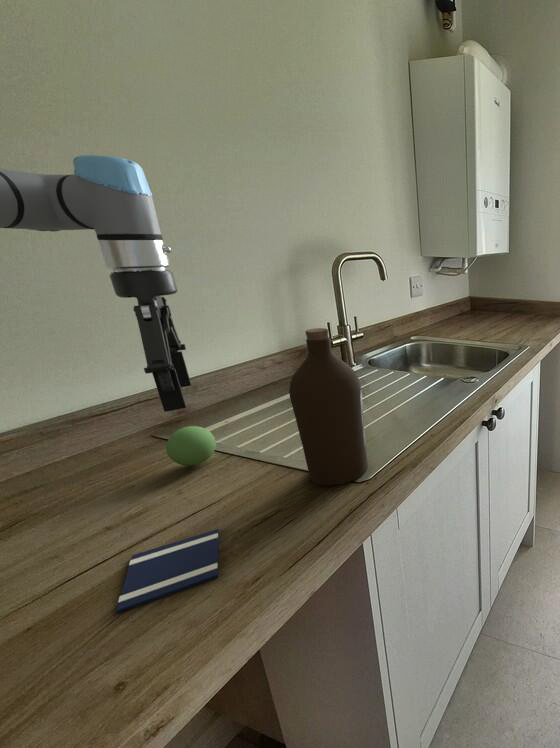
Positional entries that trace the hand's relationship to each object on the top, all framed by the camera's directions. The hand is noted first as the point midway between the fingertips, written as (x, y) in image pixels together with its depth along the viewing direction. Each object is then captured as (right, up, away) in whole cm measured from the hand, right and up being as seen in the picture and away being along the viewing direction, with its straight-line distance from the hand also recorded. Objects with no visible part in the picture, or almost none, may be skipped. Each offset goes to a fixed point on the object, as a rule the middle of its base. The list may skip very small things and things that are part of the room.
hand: (179, 397), depth 70 cm
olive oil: (+27, -13, +1) cm, 31 cm away
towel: (+16, -20, -20) cm, 33 cm away
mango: (0, -9, +3) cm, 9 cm away
